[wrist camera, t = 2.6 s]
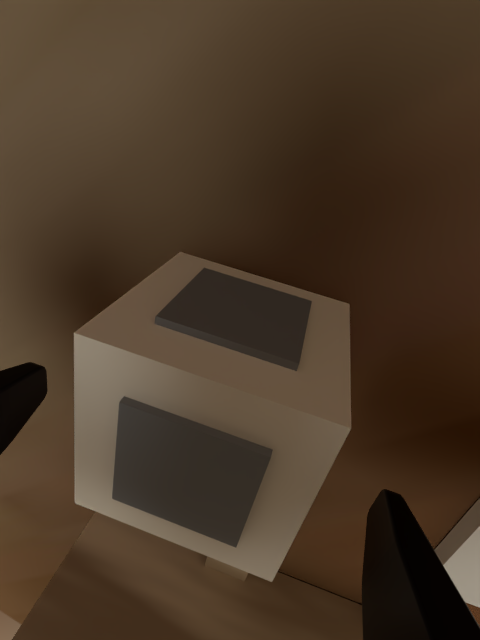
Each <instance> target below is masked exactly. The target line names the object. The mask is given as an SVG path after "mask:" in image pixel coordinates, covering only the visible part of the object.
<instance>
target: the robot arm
mask: <svg viewBox="0 0 480 640" xmlns="http://www.w3.org/2000/svg"><path fill="white" fill-rule="evenodd" d="M46 394H47V374H46V369H45V367H43V366H41V365H38V364H35V363H32V362H29V363H25V364H21V365H18V366H15V367H11V368H8V369H5V370H2V371H0V455H1V453H2V452H3V451H4V450H5V449H6V448H7V447H8V445H9V444H10V443H11V442H12V441H13V439H14V438H15V437H16V435H17V434H18V433H19V431H20V430H21V429H22V427H23V426H24V425H25V423H26V422H27V421H28V419H29V418H30V417H31V416H32V414H33V413H34V412H35V410H36V409H37V408H38V406H39V405H40V404H41V402H42V401H43V400H44V398H45V396H46ZM362 622H363V640H480V627H479V625H478V623H477V622H476V620H475V618H474V617H473V615H472V613H471V612H470V610H469V608H468V606H467V605H466V603H465V601H464V600H463V598H462V596H461V595H460V593H459V591H458V590H457V588H456V586H455V585H454V583H453V581H452V579H451V578H450V576H449V574H448V573H447V571H446V569H445V568H444V566H443V564H442V563H441V561H440V559H439V557H438V556H437V554H436V552H435V551H434V549H433V547H432V546H431V544H430V542H429V541H428V539H427V537H426V536H425V534H424V532H423V530H422V529H421V527H420V525H419V524H418V522H417V520H416V519H415V517H414V515H413V514H412V512H411V510H410V508H409V507H408V505H407V503H406V502H405V500H404V498H403V497H402V496H401V495H400V494H398V493H395V492H392V491H389V490H387V489H384V490H382V491H381V492H380V494H379V495H378V497H377V498H376V500H375V501H374V503H373V504H372V506H371V508H370V509H369V512H368V516H367V526H366V538H365V550H364V562H363V574H362Z"/></svg>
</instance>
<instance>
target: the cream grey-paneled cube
mask: <svg viewBox="0 0 480 640" xmlns="http://www.w3.org/2000/svg"><path fill="white" fill-rule="evenodd" d="M350 430H351V373H350V304H348V303H345V302H342V301H338V300H335V299H332V298H329V297H325V296H322V295H319V294H316V293H312V292H309V291H306V290H303V289H299V288H296V287H293V286H290V285H286V284H283V283H280V282H277V281H273V280H270V279H267V278H264V277H261V276H257V275H254V274H251V273H248V272H244V271H241V270H238V269H235V268H231V267H228V266H225V265H222V264H218V263H215V262H212V261H209V260H205V259H202V258H199V257H196V256H192V255H189V254H186V253H183V252H179V253H178V254H177V255H175V256H174V257H173V258H172V259H170V260H169V261H168V262H166V263H165V264H164V265H162V266H161V267H160V268H158V269H157V270H156V271H154V272H153V273H152V274H150V275H149V276H148V277H147V278H145V279H144V280H143V281H141V282H140V283H139V284H137V285H136V286H135V287H133V288H132V289H131V290H129V291H128V292H127V293H125V294H124V295H123V296H122V297H120V298H119V299H118V300H116V301H115V302H114V303H112V304H111V305H110V306H108V307H107V308H106V309H104V310H103V311H102V312H100V313H99V314H98V315H96V316H95V317H94V318H93V319H91V320H90V321H89V322H87V323H86V324H85V325H83V326H82V327H81V328H79V329H78V330H77V331H75V332H74V453H75V503H76V504H78V505H81V506H83V507H86V508H88V509H91V510H93V511H96V512H98V513H101V514H103V515H106V516H108V517H111V518H113V519H116V520H118V521H121V522H123V523H126V524H128V525H131V526H133V527H136V528H138V529H141V530H143V531H146V532H148V533H151V534H153V535H156V536H158V537H161V538H163V539H166V540H168V541H171V542H173V543H176V544H178V545H181V546H183V547H186V548H188V549H191V550H193V551H196V552H198V553H201V554H203V555H206V556H208V557H211V558H213V559H216V560H218V561H221V562H223V563H226V564H228V565H230V566H233V567H235V568H238V569H240V570H243V571H245V572H248V573H250V574H253V575H255V576H258V577H260V578H263V579H265V580H268V581H270V582H272V581H273V579H274V577H275V575H276V573H277V571H278V570H279V568H280V566H281V564H282V562H283V560H284V558H285V556H286V554H287V552H288V550H289V548H290V546H291V544H292V542H293V540H294V538H295V537H296V535H297V533H298V531H299V529H300V527H301V525H302V523H303V521H304V519H305V517H306V515H307V513H308V511H309V509H310V507H311V505H312V504H313V502H314V500H315V498H316V496H317V494H318V492H319V490H320V488H321V486H322V484H323V482H324V480H325V478H326V476H327V474H328V472H329V471H330V469H331V467H332V465H333V463H334V461H335V459H336V457H337V455H338V453H339V451H340V449H341V447H342V445H343V443H344V441H345V439H346V438H347V436H348V434H349V432H350Z"/></svg>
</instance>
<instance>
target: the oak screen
mask: <svg viewBox="0 0 480 640" xmlns="http://www.w3.org/2000/svg"><path fill="white" fill-rule="evenodd" d="M12 640H363V622H362V605H360V604H357V603H355V602H352V601H350V600H347V599H345V598H342V597H340V596H337V595H335V594H332V593H330V592H327V591H325V590H322V589H320V588H317V587H315V586H312V585H310V584H307V583H304V582H302V581H299V580H297V579H294V578H292V577H289V576H287V575H284V574H282V573H279V572H277V573H276V575H275V577H274V579H273V581H272V582H270V581H268V580H265V579H263V578H260V577H258V576H255V575H253V574H250V573H248V572H245V571H243V570H240V569H238V568H235V567H233V566H230V565H228V564H226V563H223V562H221V561H218V560H216V559H213V558H211V557H208V556H206V555H203V554H201V553H198V552H196V551H193V550H191V549H188V548H186V547H183V546H181V545H178V544H176V543H173V542H171V541H168V540H166V539H163V538H161V537H158V536H156V535H153V534H151V533H148V532H146V531H143V530H141V529H138V528H136V527H133V526H131V525H128V524H126V523H123V522H121V521H118V520H116V519H113V518H111V517H108V516H106V515H103V514H101V513H98V512H96V511H95V513H94V515H93V516H92V518H91V519H90V521H89V522H88V524H87V525H86V527H85V528H84V530H83V531H82V533H81V534H80V536H79V538H78V539H77V541H76V542H75V544H74V545H73V547H72V548H71V550H70V551H69V553H68V554H67V556H66V558H65V559H64V561H63V562H62V564H61V565H60V567H59V568H58V570H57V571H56V573H55V574H54V576H53V577H52V579H51V581H50V582H49V584H48V585H47V587H46V588H45V590H44V591H43V593H42V594H41V596H40V597H39V599H38V600H37V602H36V604H35V605H34V607H33V608H32V610H31V611H30V613H29V614H28V616H27V617H26V619H25V620H24V622H23V624H22V625H21V627H20V628H19V630H18V631H17V633H16V634H15V636H14V637H13V639H12Z"/></svg>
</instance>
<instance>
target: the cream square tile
mask: <svg viewBox="0 0 480 640" xmlns="http://www.w3.org/2000/svg"><path fill="white" fill-rule="evenodd" d="M434 551H435V552H436V554H437V556H438V557H439V559H440V561H441V563H442V564H443V566H444V568H445V569H446V571H447V573H448V574H449V576H450V578H451V579H452V581H453V583H454V585H455V586H456V588H457V590H458V591H459V593H460V595H461V596H462V598H463V600H464V601H465V602H466V603H469V604H472V605H474V606H477V607H479V608H480V498H479V499H478V500H477V502H476V503H475V504H474V505H473V506H472V507H471V508H470V510H469V511H468V512H467V513H466V514H465V515H464V517H463V518H462V519H461V520H460V521H459V522H458V523H457V525H456V526H455V527H454V528H453V529H452V530H451V531H450V533H449V534H448V535H447V536H446V537H445V538H444V539H443V541H442V542H441V543H440V544H439V545H438V546H437V547H436V549H435V550H434Z"/></svg>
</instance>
